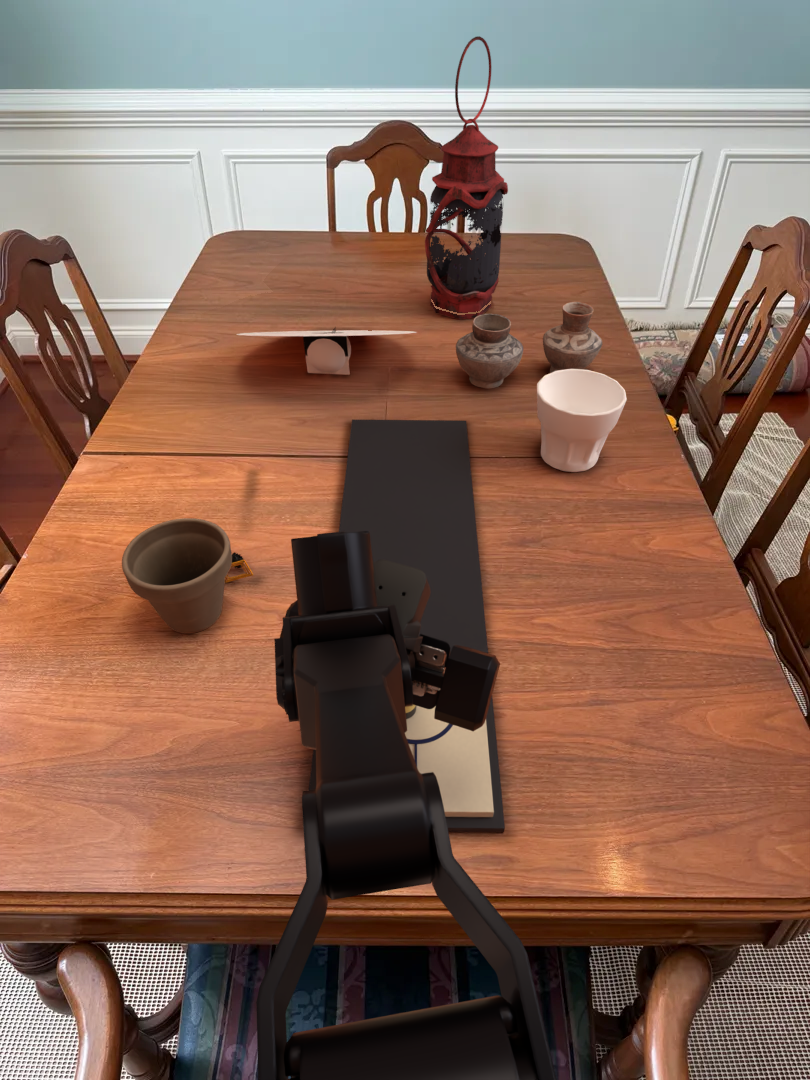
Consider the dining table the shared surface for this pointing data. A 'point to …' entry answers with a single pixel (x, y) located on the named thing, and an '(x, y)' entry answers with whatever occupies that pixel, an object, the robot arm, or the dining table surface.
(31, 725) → the dining table surface
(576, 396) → the cup
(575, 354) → the pottery
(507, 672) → the dining table surface
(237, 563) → the golden diamond frame ornament
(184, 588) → the flower pot
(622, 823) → the dining table surface
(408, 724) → the long black board
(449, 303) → the lantern
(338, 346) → the cake stand
